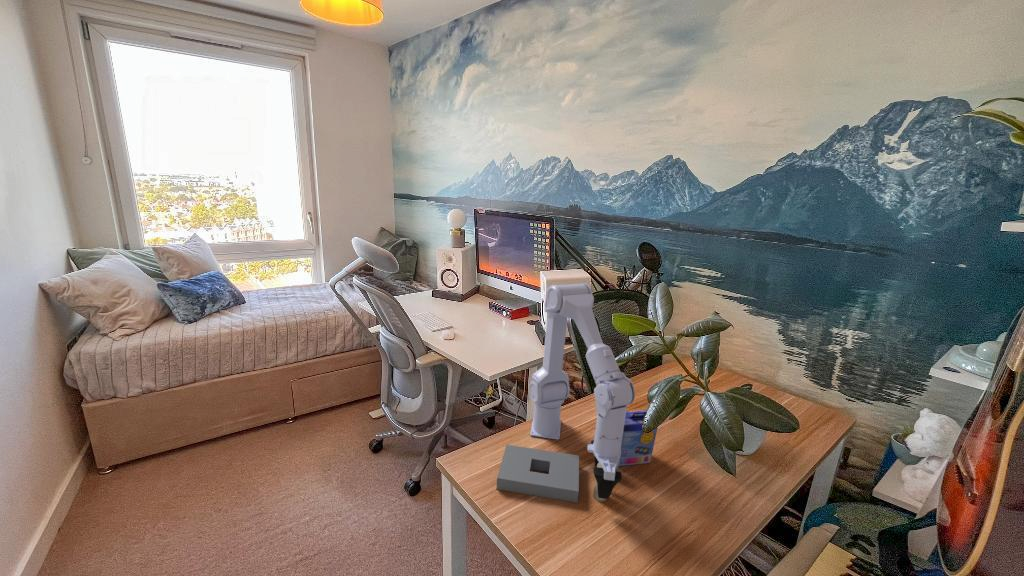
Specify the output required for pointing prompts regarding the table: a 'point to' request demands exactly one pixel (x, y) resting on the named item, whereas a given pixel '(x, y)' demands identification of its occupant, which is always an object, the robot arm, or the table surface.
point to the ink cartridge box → (636, 440)
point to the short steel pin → (617, 466)
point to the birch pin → (597, 489)
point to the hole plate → (553, 485)
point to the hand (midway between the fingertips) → (601, 484)
